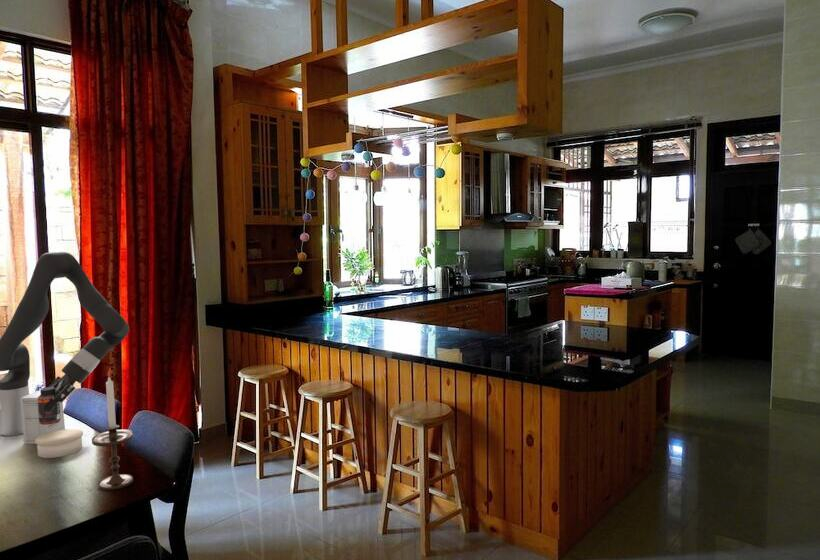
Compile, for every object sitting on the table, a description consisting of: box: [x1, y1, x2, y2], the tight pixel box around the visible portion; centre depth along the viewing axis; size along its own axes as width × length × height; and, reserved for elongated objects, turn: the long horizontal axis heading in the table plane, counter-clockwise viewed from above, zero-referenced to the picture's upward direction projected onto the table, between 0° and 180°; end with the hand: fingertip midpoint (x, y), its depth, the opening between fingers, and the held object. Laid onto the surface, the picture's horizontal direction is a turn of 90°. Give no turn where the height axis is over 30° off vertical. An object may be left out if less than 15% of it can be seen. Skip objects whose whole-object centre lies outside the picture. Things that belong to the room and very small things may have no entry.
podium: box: [35, 428, 84, 459], centre depth 196 cm, size 14×14×5 cm
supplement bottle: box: [38, 386, 60, 425], centre depth 187 cm, size 6×6×11 cm
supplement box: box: [20, 390, 66, 445], centre depth 207 cm, size 10×9×17 cm
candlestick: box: [91, 367, 135, 492], centre depth 168 cm, size 11×11×35 cm
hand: (42, 408), depth 186 cm, fingers closed on supplement bottle, 6 cm apart
